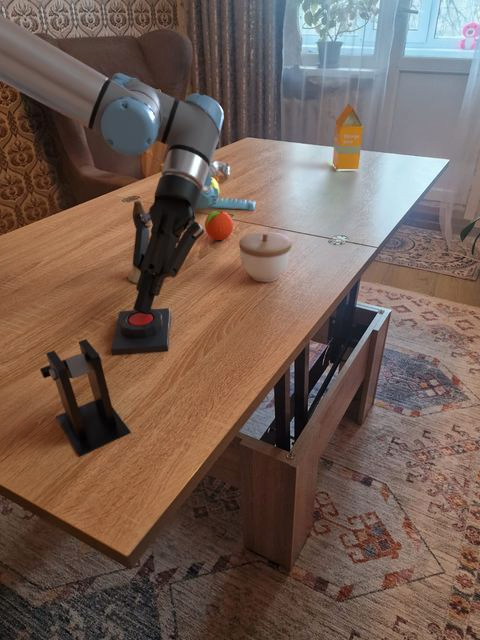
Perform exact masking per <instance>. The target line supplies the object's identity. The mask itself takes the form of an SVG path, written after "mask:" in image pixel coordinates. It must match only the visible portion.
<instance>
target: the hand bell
mask: <svg viewBox="0 0 480 640" xmlns="http://www.w3.org/2000/svg"><path fill="white" fill-rule="evenodd" d="M132 209H133V210H132V220H133V225H134V227H135V228H136V227H137V226H136V222H135V218H134V217H135V215H136V214H137V213H139V214H140V215H143V214H145V213H146V211H145V208H144V206H143V204H142V202H141V200H136V201H133V208H132ZM140 274H141V272H140V270H139V269H138V268H136V267H135V266H133V265H132V268H131V270H130V271H129V273H128V275H127V279H128V281H129V282H130V283H132V284H136V285H137V283H138V280H139V277H140Z"/></svg>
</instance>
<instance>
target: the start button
mask: <svg viewBox="0 0 480 640" xmlns="http://www.w3.org/2000/svg"><path fill="white" fill-rule="evenodd" d="M152 321H153V317H152V315H151V314H149V315H147V314H142V313H137V314H134V315H132V316H131V317H130V318H129V324H130V325H134V326H140V325H146V324H148V323H150V322H152Z"/></svg>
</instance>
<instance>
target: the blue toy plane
mask: <svg viewBox="0 0 480 640" xmlns="http://www.w3.org/2000/svg"><path fill="white" fill-rule="evenodd" d="M219 180H220V176H217V175H216V176H214V177H213V178H211V176H210V175H208V174H207V177H206V180H205V183H204V187H203V189H202V190H201V197H200V200H199V204H198V207H197V209H201V210H202V209H205V208H211V209H212V208H213V209H214V208H215V209H228V210H229V209H230V210H231V209H232V210H247V211H249V212H250V211H251V212H254V211H255V210H256V209H255V208H256V201H255V200H251V199H242V198H227V197H219V196H220V192H221V191H220V185H219Z"/></svg>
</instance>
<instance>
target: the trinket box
mask: <svg viewBox="0 0 480 640" xmlns="http://www.w3.org/2000/svg"><path fill="white" fill-rule="evenodd" d="M238 246H239V253H240V262H241V264H242V267H243V269H244V271H245V272H246V273H247V274H248V275H249V276H250V277H251V279H253V280H254V281H256V282H260V283H270V282H274V281H276V280H278V279H280V276H282V275H283V274H284V273H285V271H286V270H287V268H288V266H289V263H290V261H291V253H292V239H291V238H290V237H288V236H287V235H285V234H282V233H279V232H274V231H256V232H252V233H249V234H246V235H244V236H242V237H241V238H240V239H239V245H238Z"/></svg>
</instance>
